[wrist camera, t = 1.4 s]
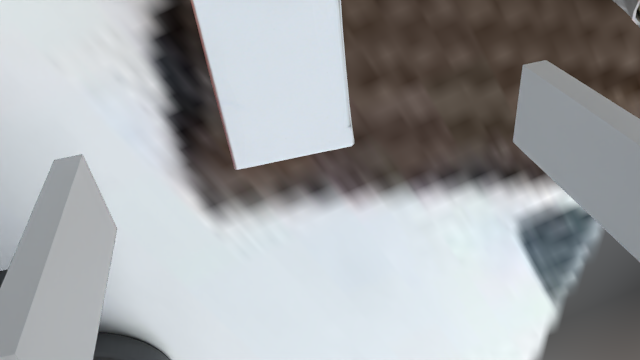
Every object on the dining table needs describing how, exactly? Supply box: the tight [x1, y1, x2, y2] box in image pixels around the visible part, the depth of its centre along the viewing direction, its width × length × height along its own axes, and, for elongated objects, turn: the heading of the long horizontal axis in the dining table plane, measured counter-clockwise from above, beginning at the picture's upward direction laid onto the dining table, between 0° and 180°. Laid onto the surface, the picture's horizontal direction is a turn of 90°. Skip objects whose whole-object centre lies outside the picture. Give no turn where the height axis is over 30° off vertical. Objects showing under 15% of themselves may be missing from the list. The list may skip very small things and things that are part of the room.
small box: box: [191, 0, 354, 170], centre depth 24 cm, size 8×6×10 cm
